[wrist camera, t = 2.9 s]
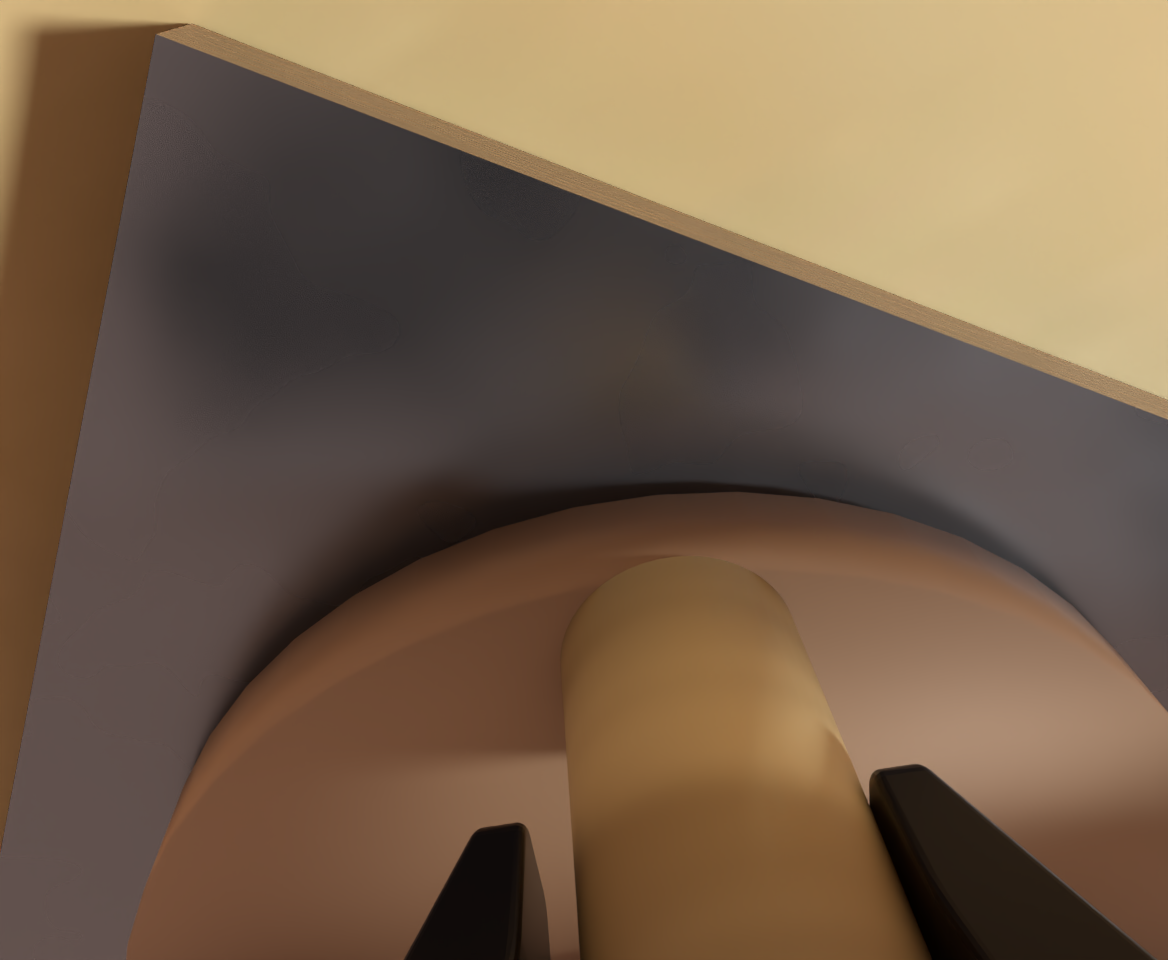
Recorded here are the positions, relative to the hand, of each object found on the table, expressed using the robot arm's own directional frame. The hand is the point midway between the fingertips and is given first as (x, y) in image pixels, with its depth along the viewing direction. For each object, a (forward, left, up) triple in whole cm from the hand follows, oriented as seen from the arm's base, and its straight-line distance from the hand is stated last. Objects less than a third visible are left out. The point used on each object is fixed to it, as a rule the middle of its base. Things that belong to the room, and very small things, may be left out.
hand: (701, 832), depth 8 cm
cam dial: (-3, +5, -4) cm, 7 cm away
